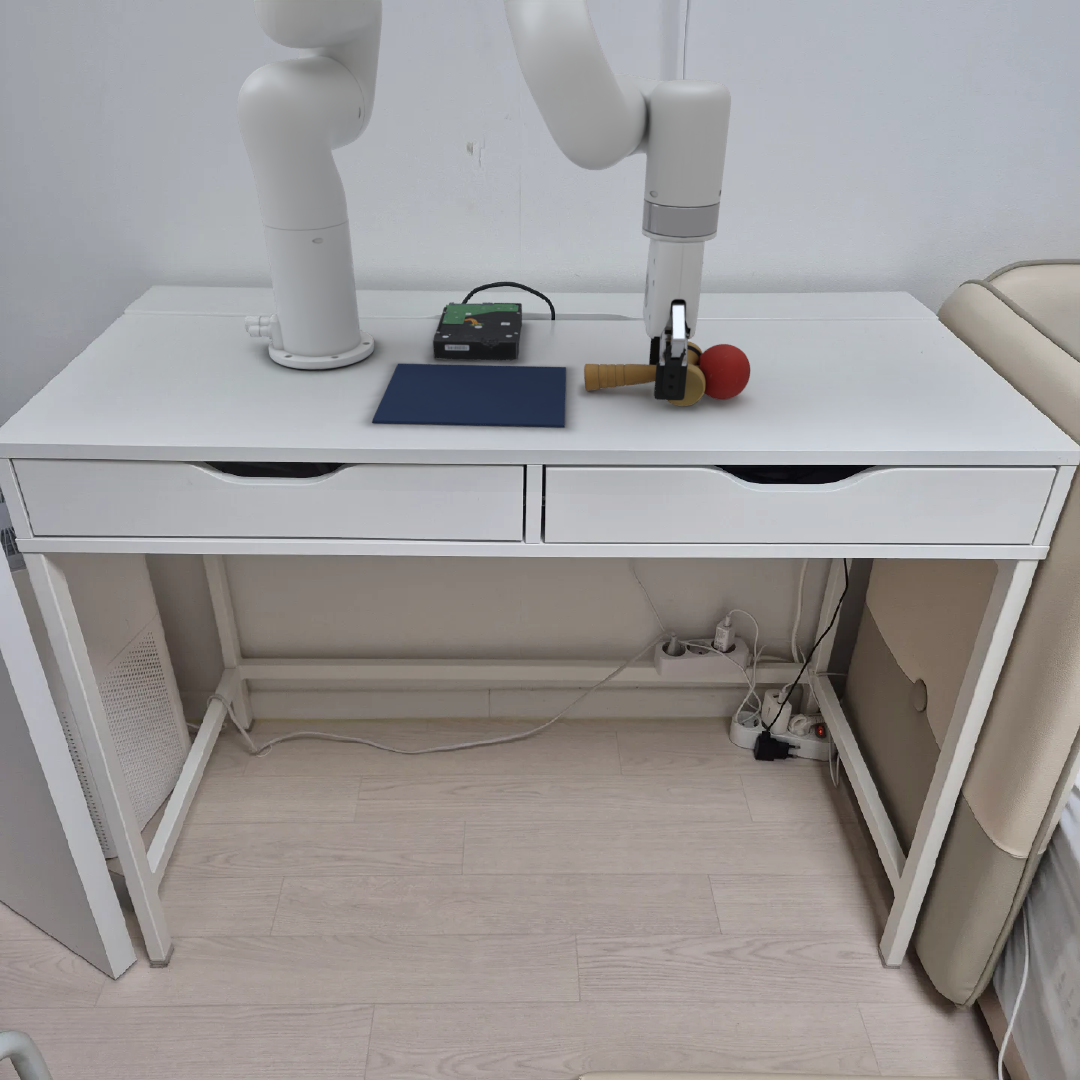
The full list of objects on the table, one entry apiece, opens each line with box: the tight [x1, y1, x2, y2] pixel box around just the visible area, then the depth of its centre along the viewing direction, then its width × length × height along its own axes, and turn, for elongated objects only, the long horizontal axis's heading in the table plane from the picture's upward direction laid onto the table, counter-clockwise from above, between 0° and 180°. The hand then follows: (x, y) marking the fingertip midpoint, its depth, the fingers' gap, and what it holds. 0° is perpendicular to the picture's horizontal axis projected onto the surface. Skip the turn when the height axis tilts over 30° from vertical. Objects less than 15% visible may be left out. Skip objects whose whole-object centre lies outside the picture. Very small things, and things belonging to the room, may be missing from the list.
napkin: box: [371, 363, 567, 428], centre depth 100 cm, size 20×16×1 cm
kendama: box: [583, 341, 751, 407], centre depth 99 cm, size 8×6×18 cm
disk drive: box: [432, 301, 523, 362], centre depth 113 cm, size 10×3×15 cm
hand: (665, 383), depth 99 cm, fingers closed on kendama, 7 cm apart
